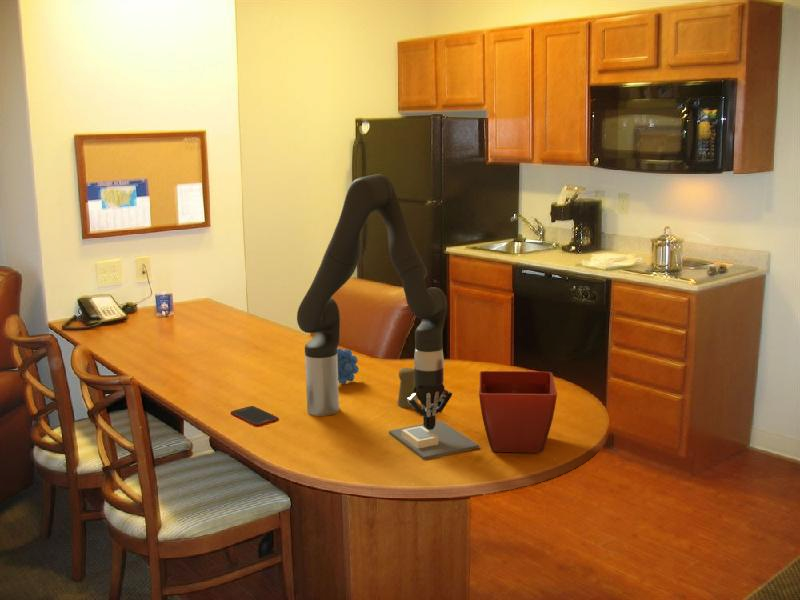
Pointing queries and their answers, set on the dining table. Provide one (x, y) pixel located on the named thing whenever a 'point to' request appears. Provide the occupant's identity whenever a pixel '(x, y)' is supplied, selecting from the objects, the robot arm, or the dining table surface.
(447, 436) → the mat
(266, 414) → the cell phone
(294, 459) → the dining table surface
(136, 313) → the dining table surface
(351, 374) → the grapes
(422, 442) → the card box
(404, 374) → the cork
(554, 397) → the plant pot
